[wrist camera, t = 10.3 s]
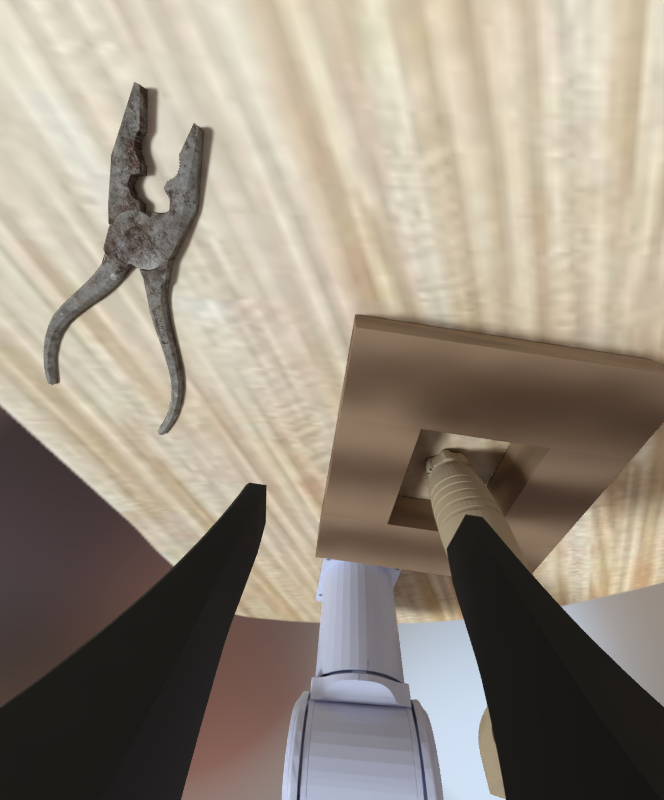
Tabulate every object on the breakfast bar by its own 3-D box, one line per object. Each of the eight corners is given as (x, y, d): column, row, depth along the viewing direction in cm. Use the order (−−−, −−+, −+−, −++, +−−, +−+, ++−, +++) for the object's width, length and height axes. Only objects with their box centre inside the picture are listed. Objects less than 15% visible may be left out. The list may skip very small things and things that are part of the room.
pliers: (47, 402, 21) (-31, 10, 11) (58, 397, 22) (-8, 24, 12) (175, 441, 22) (203, 112, 12) (181, 435, 23) (211, 119, 13)
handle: (400, 485, 23) (462, 792, 10) (432, 424, 20) (581, 753, 7) (454, 497, 24) (582, 812, 10) (494, 439, 20) (747, 783, 7)
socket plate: (504, 553, 27) (520, 586, 24) (319, 526, 26) (315, 556, 24) (646, 358, 17) (700, 379, 14) (355, 314, 17) (355, 327, 14)
